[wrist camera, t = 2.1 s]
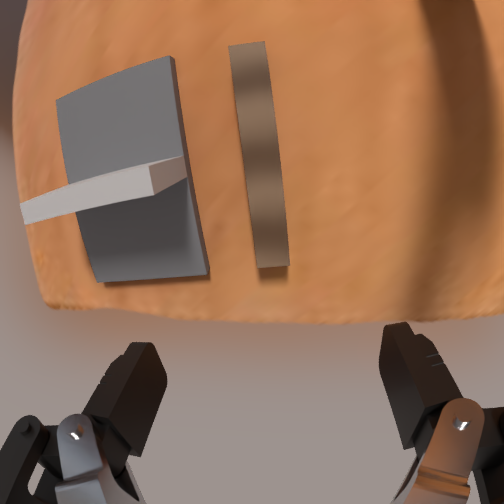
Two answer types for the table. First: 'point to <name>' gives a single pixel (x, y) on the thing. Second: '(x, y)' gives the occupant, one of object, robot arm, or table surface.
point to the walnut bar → (260, 153)
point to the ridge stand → (128, 176)
